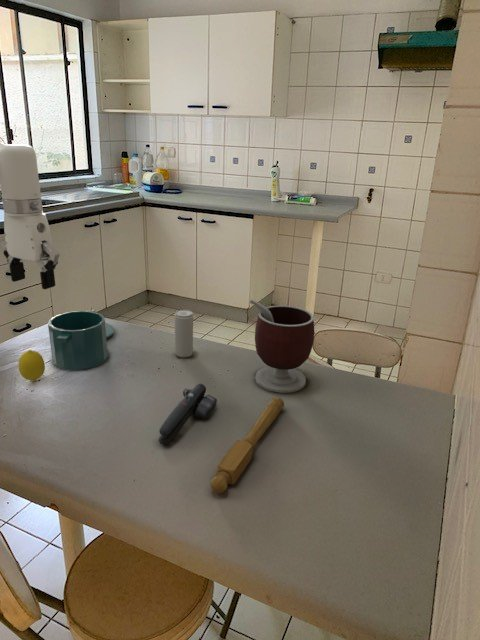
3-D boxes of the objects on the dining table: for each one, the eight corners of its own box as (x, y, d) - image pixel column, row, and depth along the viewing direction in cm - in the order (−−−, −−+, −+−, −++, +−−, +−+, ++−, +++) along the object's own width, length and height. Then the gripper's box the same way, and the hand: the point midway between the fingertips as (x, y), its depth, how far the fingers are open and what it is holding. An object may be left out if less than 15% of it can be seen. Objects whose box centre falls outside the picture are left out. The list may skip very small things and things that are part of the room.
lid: (53, 343, 127) (50, 321, 125) (72, 323, 140) (70, 302, 138) (105, 346, 127) (103, 324, 124) (119, 326, 140) (118, 305, 137)
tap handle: (285, 398, 100) (223, 485, 75) (284, 410, 101) (223, 499, 76) (272, 394, 101) (207, 478, 76) (271, 406, 102) (206, 493, 77)
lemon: (27, 389, 105) (22, 358, 102) (16, 380, 108) (11, 350, 105) (51, 381, 109) (47, 350, 106) (39, 372, 112) (35, 343, 109)
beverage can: (171, 354, 124) (170, 313, 119) (183, 348, 127) (183, 308, 123) (184, 360, 121) (184, 317, 117) (196, 353, 125) (197, 312, 120)
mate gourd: (309, 369, 119) (318, 296, 111) (307, 397, 106) (316, 317, 99) (250, 362, 121) (254, 290, 114) (241, 389, 109) (245, 310, 101)
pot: (38, 373, 112) (32, 333, 108) (70, 341, 129) (66, 305, 125) (92, 377, 111) (89, 337, 107) (117, 344, 128) (115, 308, 124)
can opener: (193, 398, 104) (193, 376, 102) (220, 406, 101) (221, 384, 99) (145, 441, 89) (144, 416, 87) (175, 452, 87) (175, 427, 84)
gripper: (66, 208, 97) (74, 286, 104) (10, 200, 105) (21, 273, 111) (37, 213, 91) (47, 295, 98) (-20, 204, 98) (-7, 281, 105)
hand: (33, 283), depth 104 cm, fingers open, 9 cm apart
